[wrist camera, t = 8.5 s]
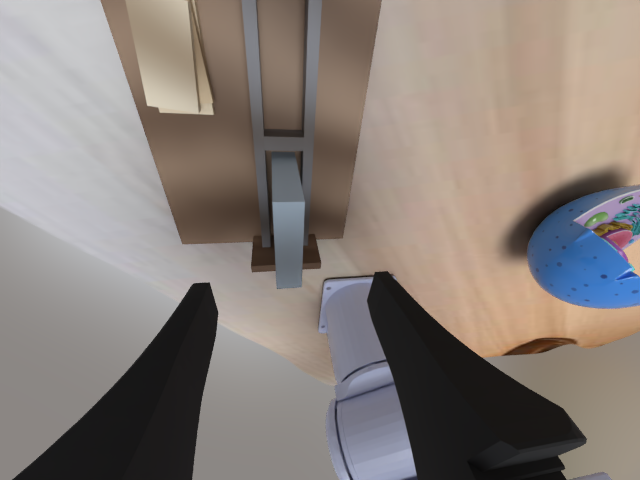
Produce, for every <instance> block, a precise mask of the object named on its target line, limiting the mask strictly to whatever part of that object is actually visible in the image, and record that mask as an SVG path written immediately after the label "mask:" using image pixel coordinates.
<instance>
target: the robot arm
mask: <svg viewBox="0 0 640 480" xmlns="http://www.w3.org/2000/svg"><path fill="white" fill-rule="evenodd" d="M217 320H218V310H217V306H216V303H215V299H214V296H213V293H212V289H211V286H210V282H209V283H194V284H193V285H192V286H191V287H190V289H189V290H188V292H187V294H186V295H185V297H184V298H183V300H182V301H181V303H180V304H179V306H178V307H177V308H176V310H175V311H174V313H173V314H172V316H171V317H170V318H169V320H168V321H167V322H166V324H165V325H164V326H163V328H162V329H161V331H160V332H159V333H158V334H157V336H156V337H155V338H154V339H153V341H152V342H151V343H150V344H149V346H148V347H147V348H146V349H145V351H144V352H143V353H142V354H141V355H140V357H139V358H138V359H137V360H136V361H135V362H134V364H133V365H132V366H131V367H130V368H129V369H128V371H127V372H126V373H125V374H124V375H123V376H122V377H121V378H120V379H119V380H118V381H117V383H116V384H115V385H114V386H113V387H112V388H111V389H110V390H109V391H108V392H107V393H106V394H105V395H104V396H103V397H102V398H101V399H100V400H99V401H98V402H97V403H96V404H95V405H94V406H93V407H92V408H91V409H90V410H89V411H88V412H87V413H86V414H85V415H84V416H83V417H82V418H81V419H80V420H79V421H78V422H77V423H76V424H75V425H73V426H72V427H71V428H70V429H69V430H68V431H67V432H66V433H65V434H63V435H62V436H61V437H60V438H59V439H58V440H57V441H56V442H55V443H54V444H53V445H52V446H51V447H49V448H48V449H47V450H46V451H45V452H44V453H43V454H42V455H41V456H39V457H38V458H37V459H36V460H35V461H34V462H33V463H31V464H30V465H29V466H28V467H27V468H25V469H24V470H23V471H22V472H21V473H20V474H18V475H17V476H16V477H15V478H14V479H12V480H192V474H193V465H194V455H195V446H196V439H197V430H198V423H199V414H200V407H201V401H202V396H203V390H204V386H205V382H206V377H207V373H208V368H209V364H210V359H211V355H212V351H213V346H214V342H215V337H216V330H217ZM318 331H319V333H327V337H328V342H329V348H330V353H331V358H332V363H333V369H334V374H335V378H336V381H337V383H338V385H335V386H334V387H335V393H336V398H334V399H332V400H331V402H330V405H329V408H328V411H327V415H326V434H327V442H328V447H329V452H330V456H331V460H332V463H333V466H334V469H335V471H336V474H337V476H338V478H339V480H566V478H565V476H564V475H563V474H562V472H561V470H564V469H565V467H564V465H563V463H562V462H561V460H560V459H559V457H558V455H561V454H563V453H566V452H568V451H570V450H573V449H575V448H578V447H580V446H582V445H584V444H585V443H586V440H587V439H586V437H585V436H584V435H583V434H582V432H581V431H580V430H579V428H578V427H577V426H576V424H575V423H574V422H573V421H572V419H571V418H570V417H569V416H568V414H567V413H566V412H565V410H564V409H563V408H561V407H560V406H558V405H556V404H554V403H553V402H551V401H549V400H548V399H546V398H544V397H542V396H541V395H539V394H537V393H535V392H534V391H532V390H530V389H528V388H527V387H525V386H524V385H522V384H520V383H519V382H517V381H516V380H514V379H513V378H511V377H509V376H508V375H506V374H505V373H503V372H502V371H500V370H499V369H497V368H496V367H494V366H493V365H491V364H490V363H489V362H487V361H486V360H484V359H483V358H482V357H480V356H479V355H477V354H476V353H475V352H473V351H472V350H471V349H469V348H468V347H467V346H465V345H464V344H463V343H462V342H460V341H459V340H458V339H457V338H456V337H454V336H453V335H452V334H451V333H449V332H448V331H447V330H446V329H445V328H444V327H442V326H441V325H440V324H439V323H438V322H437V321H436V320H435V319H434V318H433V317H431V316H430V315H429V314H428V313H427V312H426V311H425V310H424V309H423V308H422V307H421V306H420V305H419V304H418V303H417V302H416V301H415V300H414V299H413V298H412V297H411V296H410V295H409V294H408V292H407V291H406V290H405V289H404V288H403V287H402V286H401V285H400V284H399V283H398V282H397V279H396V277H395V276H392V275H391V274H390V273H389V272H388V271H385V272H375V274H374V277H361V278H345V279H329V280H326V281H325V282H324V286H323V294H322V302H321V310H320V318H319V326H318ZM570 480H611V478H610V477H609V476H608V474H607V473H604V472H600V473H595V474H591V475H586V476H582V477H578V478H574V479H570Z"/></svg>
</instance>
